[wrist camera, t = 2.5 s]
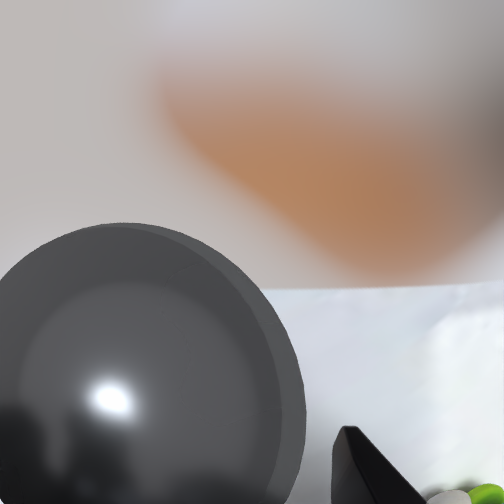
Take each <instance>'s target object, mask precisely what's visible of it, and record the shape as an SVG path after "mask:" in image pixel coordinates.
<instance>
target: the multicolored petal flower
mask: <svg viewBox="0 0 504 504" xmlns="http://www.w3.org/2000/svg"><path fill="white" fill-rule="evenodd" d="M427 504H504V491H503V489H502V488H501V487H500V486H498V485H494V484H483V485H480V486H478V487H476V488H474V489H472V490H471V491H469V492H468V493H466V492H464V491H462V490H449V491H445V492H442V493H439V494H437V495H435V496H434V497H432V498H430V499H429V500H428V501H427Z"/></svg>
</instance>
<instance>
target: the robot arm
mask: <svg viewBox="0 0 504 504" xmlns="http://www.w3.org/2000/svg"><path fill="white" fill-rule="evenodd" d="M331 504H427V501H426V500H425V499H424V498H423V497H422V496H421V495H420V494H419V493H418V492H417V491H416V490H415V489H414V488H413V487H412V486H411V484H410V483H409V482H408V481H407V480H406V479H405V478H404V477H403V476H402V475H401V474H400V473H399V472H398V471H397V470H396V468H395V467H394V466H393V465H392V464H391V463H390V462H389V461H388V460H387V459H386V458H385V457H384V455H383V454H382V453H381V452H380V451H379V450H378V449H377V448H376V447H375V446H374V445H373V443H372V442H371V441H370V440H369V439H368V438H367V437H366V436H365V435H364V433H363V432H362V431H361V430H360V429H359V428H358V427H357V426H343V427H342V428H341V429H340V431H339V434H338V436H337V438H336V440H335V442H334V445H333V450H332V479H331Z"/></svg>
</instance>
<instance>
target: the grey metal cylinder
mask: <svg viewBox="0 0 504 504" xmlns="http://www.w3.org/2000/svg"><path fill="white" fill-rule="evenodd" d="M305 434H306V403H305V394H304V384H303V380H302V376H301V372H300V368H299V364H298V360H297V357H296V354H295V352H294V349H293V347H292V344H291V342H290V339H289V337H288V334H287V332H286V330H285V328H284V326H283V324H282V323H281V321H280V319H279V317H278V315H277V314H276V312H275V310H274V308H273V307H272V305H271V304H270V303H269V301H268V300H267V299H266V297H265V296H264V295H263V293H262V292H261V291H260V289H259V288H258V287H257V286H256V285H255V284H254V283H253V282H252V281H251V280H250V278H249V277H248V276H247V275H246V274H245V273H244V272H243V271H242V270H241V269H240V268H239V267H237V266H236V265H235V264H234V263H232V262H231V261H230V260H228V259H227V258H226V257H225V256H223V255H222V254H221V253H219V252H218V251H216V250H214V249H213V248H211V247H209V246H208V245H206V244H204V243H203V242H201V241H199V240H197V239H194V238H192V237H190V236H187V235H185V234H183V233H181V232H177V231H174V230H170V229H167V228H163V227H160V226H154V225H147V224H141V223H111V224H101V225H96V226H91V227H87V228H83V229H80V230H77V231H74V232H71V233H68V234H65V235H63V236H61V237H58V238H56V239H54V240H52V241H50V242H48V243H46V244H44V245H42V246H40V247H39V248H37V249H36V250H34V251H33V252H31V253H29V254H28V255H27V256H25V257H24V258H23V259H22V260H20V261H19V262H18V263H17V264H16V265H14V266H13V267H12V268H11V269H10V270H9V271H8V272H7V274H6V275H5V276H4V277H3V278H2V279H1V280H0V499H1V501H2V502H3V503H4V504H284V503H285V502H286V500H287V498H288V497H289V495H290V492H291V490H292V487H293V485H294V482H295V480H296V477H297V474H298V472H299V469H300V464H301V459H302V455H303V450H304V445H305Z"/></svg>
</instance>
